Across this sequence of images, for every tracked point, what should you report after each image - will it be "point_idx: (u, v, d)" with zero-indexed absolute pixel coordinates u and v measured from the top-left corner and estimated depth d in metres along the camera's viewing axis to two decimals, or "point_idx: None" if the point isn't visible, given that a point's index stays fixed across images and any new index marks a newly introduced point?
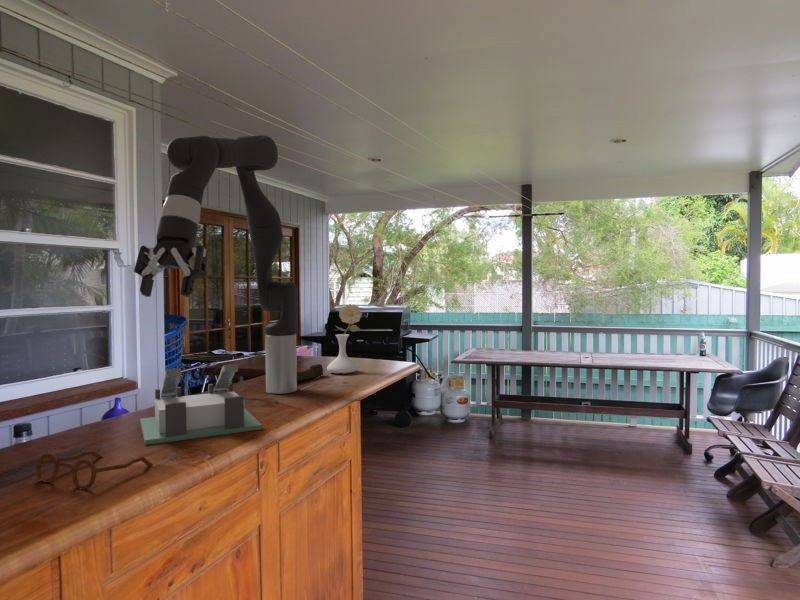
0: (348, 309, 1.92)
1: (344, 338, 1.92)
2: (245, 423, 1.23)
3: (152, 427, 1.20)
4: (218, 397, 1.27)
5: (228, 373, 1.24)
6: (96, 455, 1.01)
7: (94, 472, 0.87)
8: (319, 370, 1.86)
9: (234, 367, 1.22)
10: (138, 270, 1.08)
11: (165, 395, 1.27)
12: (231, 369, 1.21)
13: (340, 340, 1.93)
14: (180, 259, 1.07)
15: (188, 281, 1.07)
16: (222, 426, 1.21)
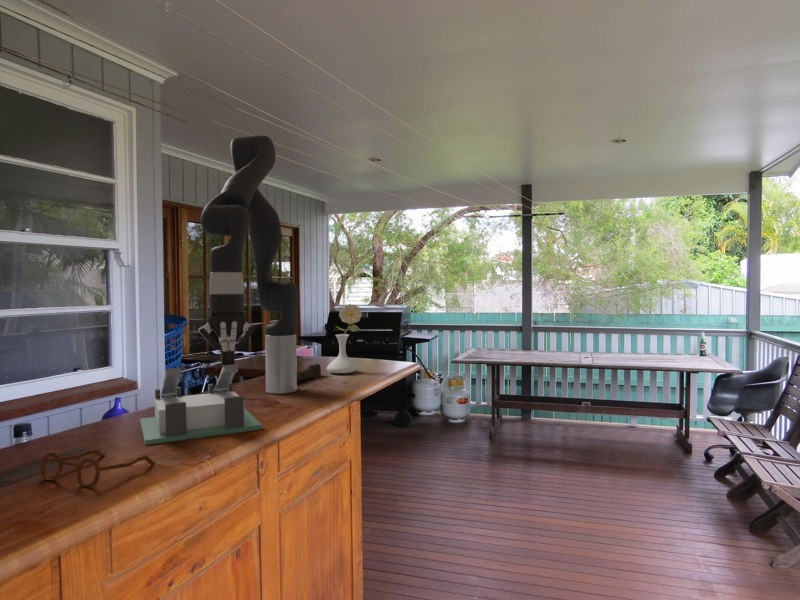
0: (348, 309, 1.92)
1: (344, 338, 1.92)
2: (245, 423, 1.23)
3: (152, 427, 1.20)
4: (218, 397, 1.27)
5: (228, 373, 1.24)
6: (99, 454, 1.02)
7: (98, 470, 0.88)
8: (317, 370, 1.86)
9: (234, 367, 1.21)
10: (218, 346, 1.22)
11: (165, 395, 1.27)
12: (231, 370, 1.21)
13: (340, 340, 1.93)
14: (234, 334, 1.23)
15: (232, 355, 1.24)
16: (222, 426, 1.21)
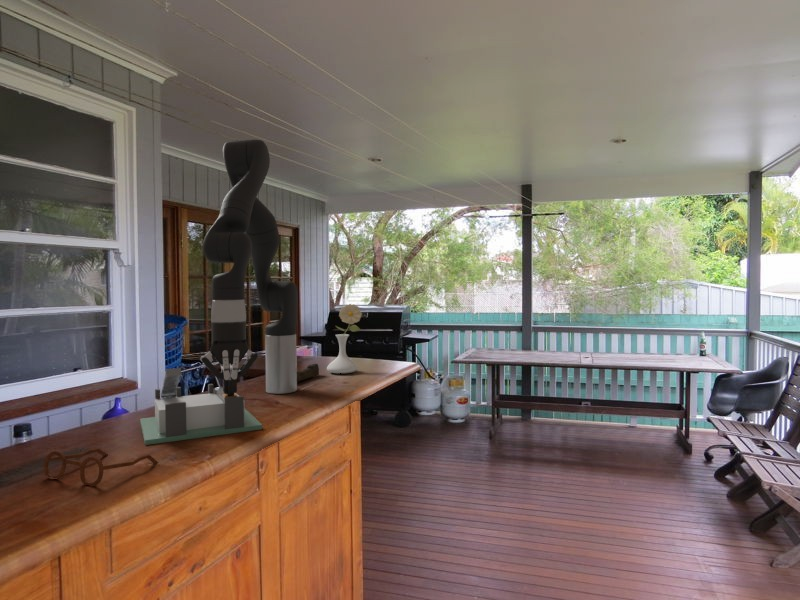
0: (348, 309, 1.92)
1: (344, 338, 1.92)
2: (245, 423, 1.23)
3: (152, 427, 1.20)
4: (218, 397, 1.27)
5: None
6: (102, 453, 1.03)
7: (102, 469, 0.88)
8: (316, 370, 1.86)
9: None
10: (220, 375, 1.20)
11: (165, 395, 1.27)
12: None
13: (340, 340, 1.93)
14: (236, 362, 1.22)
15: (235, 383, 1.22)
16: (222, 426, 1.21)
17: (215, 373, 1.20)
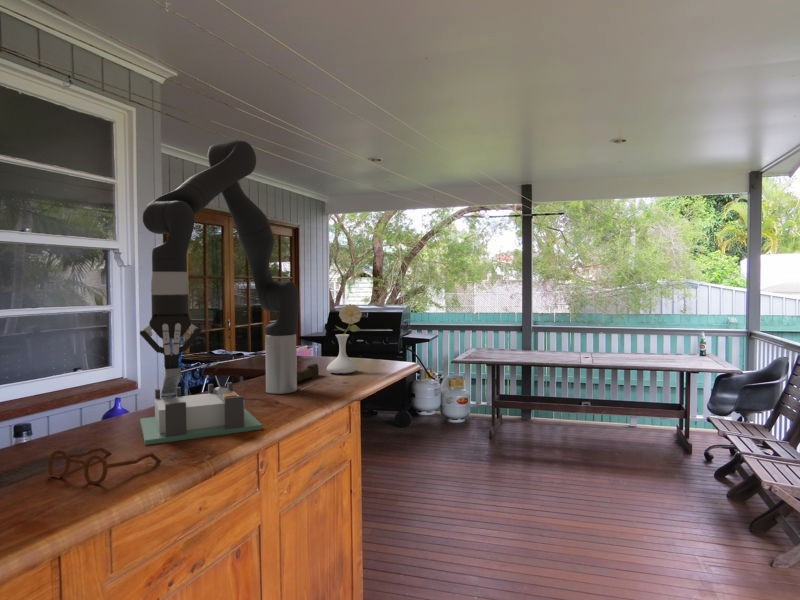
0: (348, 309, 1.92)
1: (344, 338, 1.92)
2: (245, 423, 1.23)
3: (152, 427, 1.20)
4: (218, 397, 1.27)
5: None
6: (105, 452, 1.03)
7: (105, 468, 0.89)
8: (316, 370, 1.86)
9: None
10: (160, 350, 1.16)
11: (165, 395, 1.27)
12: None
13: (340, 340, 1.93)
14: (178, 337, 1.17)
15: (176, 358, 1.18)
16: (222, 426, 1.21)
17: (155, 347, 1.16)
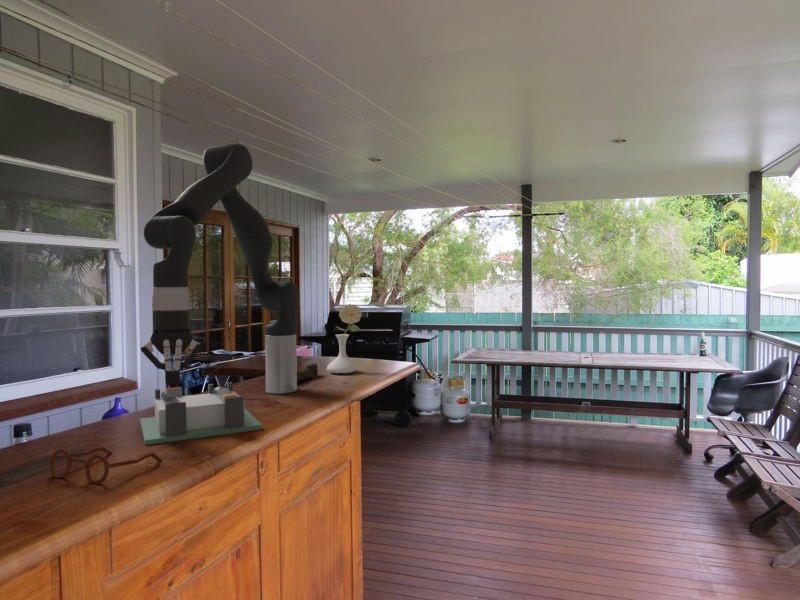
0: (348, 309, 1.92)
1: (344, 338, 1.92)
2: (245, 423, 1.23)
3: (152, 427, 1.20)
4: (218, 397, 1.27)
5: None
6: (106, 451, 1.04)
7: (107, 467, 0.89)
8: (315, 370, 1.86)
9: None
10: (161, 366, 1.15)
11: (165, 396, 1.27)
12: None
13: (340, 340, 1.93)
14: (179, 353, 1.16)
15: (178, 374, 1.17)
16: (222, 426, 1.21)
17: (156, 364, 1.15)
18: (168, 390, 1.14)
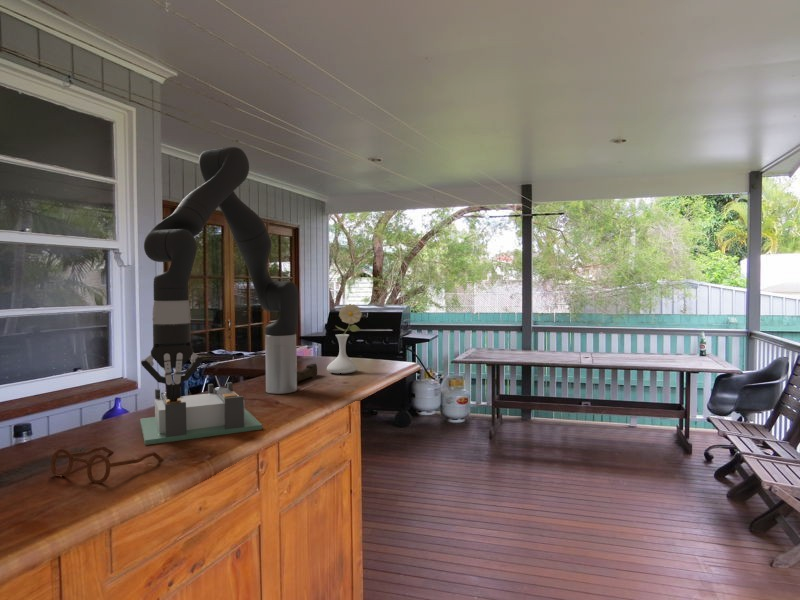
0: (348, 309, 1.92)
1: (344, 338, 1.92)
2: (245, 423, 1.23)
3: (152, 427, 1.20)
4: (218, 397, 1.27)
5: None
6: (108, 451, 1.04)
7: (108, 466, 0.89)
8: (315, 369, 1.86)
9: None
10: (162, 380, 1.15)
11: None
12: None
13: (340, 340, 1.93)
14: (179, 366, 1.16)
15: (178, 388, 1.17)
16: (222, 426, 1.21)
17: (156, 377, 1.14)
18: None
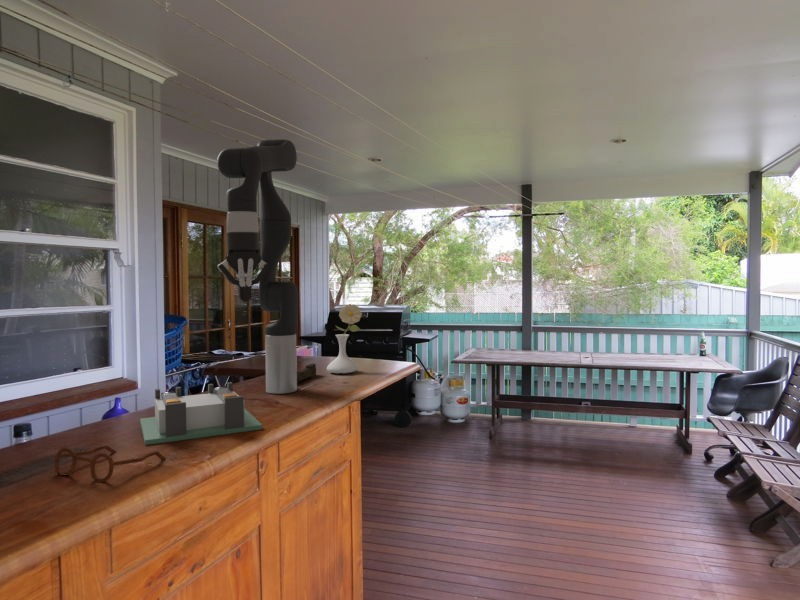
0: (348, 309, 1.92)
1: (344, 338, 1.92)
2: (245, 423, 1.23)
3: (152, 427, 1.20)
4: (218, 397, 1.27)
5: None
6: (110, 450, 1.05)
7: (112, 465, 0.90)
8: (314, 369, 1.87)
9: None
10: (236, 282, 1.30)
11: None
12: None
13: (340, 340, 1.93)
14: (251, 270, 1.31)
15: (249, 290, 1.32)
16: (222, 426, 1.21)
17: (231, 280, 1.30)
18: None
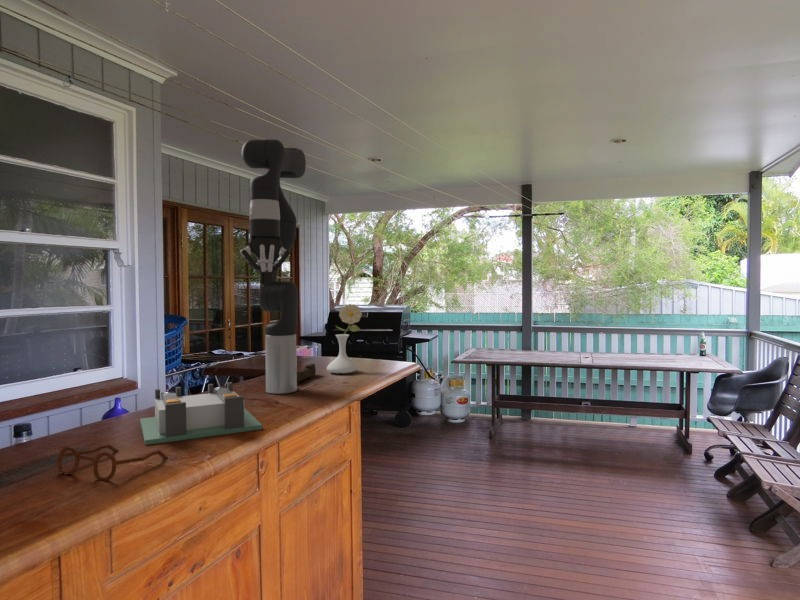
0: (348, 309, 1.92)
1: (344, 338, 1.92)
2: (245, 423, 1.23)
3: (152, 427, 1.20)
4: (218, 397, 1.27)
5: None
6: (112, 449, 1.05)
7: (115, 464, 0.91)
8: (314, 369, 1.87)
9: None
10: (257, 267, 1.35)
11: None
12: None
13: (340, 340, 1.93)
14: (272, 256, 1.36)
15: (270, 275, 1.37)
16: (222, 426, 1.21)
17: (253, 265, 1.35)
18: None
